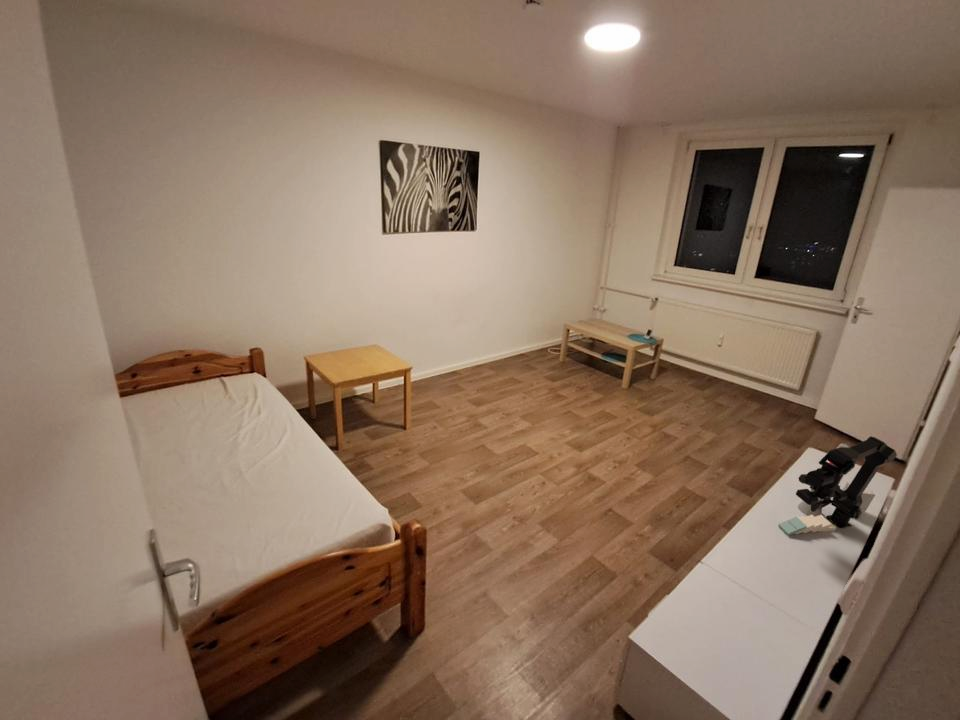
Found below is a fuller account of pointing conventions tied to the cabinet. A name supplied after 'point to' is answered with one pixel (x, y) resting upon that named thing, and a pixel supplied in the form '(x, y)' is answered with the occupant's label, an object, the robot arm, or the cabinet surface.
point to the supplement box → (863, 498)
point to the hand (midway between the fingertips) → (812, 511)
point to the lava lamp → (807, 508)
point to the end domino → (829, 528)
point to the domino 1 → (792, 526)
